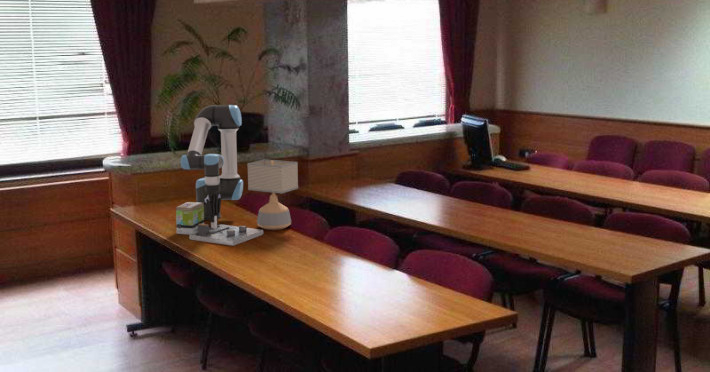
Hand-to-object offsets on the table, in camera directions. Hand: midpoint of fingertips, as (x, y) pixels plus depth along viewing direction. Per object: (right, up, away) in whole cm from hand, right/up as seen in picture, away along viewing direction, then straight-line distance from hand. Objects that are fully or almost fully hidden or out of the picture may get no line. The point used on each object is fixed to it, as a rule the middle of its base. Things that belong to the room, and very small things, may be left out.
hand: (214, 227), depth 416 cm
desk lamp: (+30, -1, +17) cm, 34 cm away
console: (+7, -5, -3) cm, 9 cm away
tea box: (-14, -3, +10) cm, 17 cm away
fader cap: (-4, -3, -7) cm, 9 cm away
